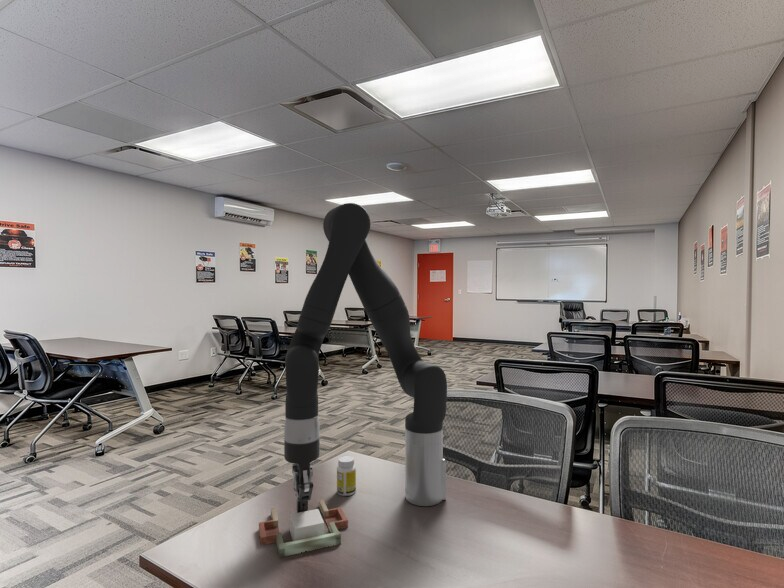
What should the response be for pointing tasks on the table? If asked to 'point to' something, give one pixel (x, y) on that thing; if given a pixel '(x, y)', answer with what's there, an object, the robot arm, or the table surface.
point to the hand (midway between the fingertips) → (302, 515)
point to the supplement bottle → (346, 476)
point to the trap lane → (334, 521)
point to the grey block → (306, 524)
